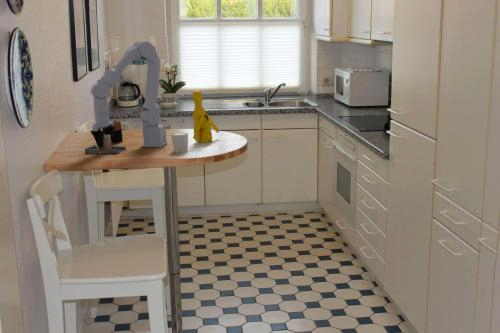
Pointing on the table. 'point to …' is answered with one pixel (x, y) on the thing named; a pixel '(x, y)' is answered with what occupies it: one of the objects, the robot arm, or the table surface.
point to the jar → (107, 142)
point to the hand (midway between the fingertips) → (104, 145)
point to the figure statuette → (202, 121)
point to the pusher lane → (94, 149)
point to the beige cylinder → (180, 142)
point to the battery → (117, 132)
